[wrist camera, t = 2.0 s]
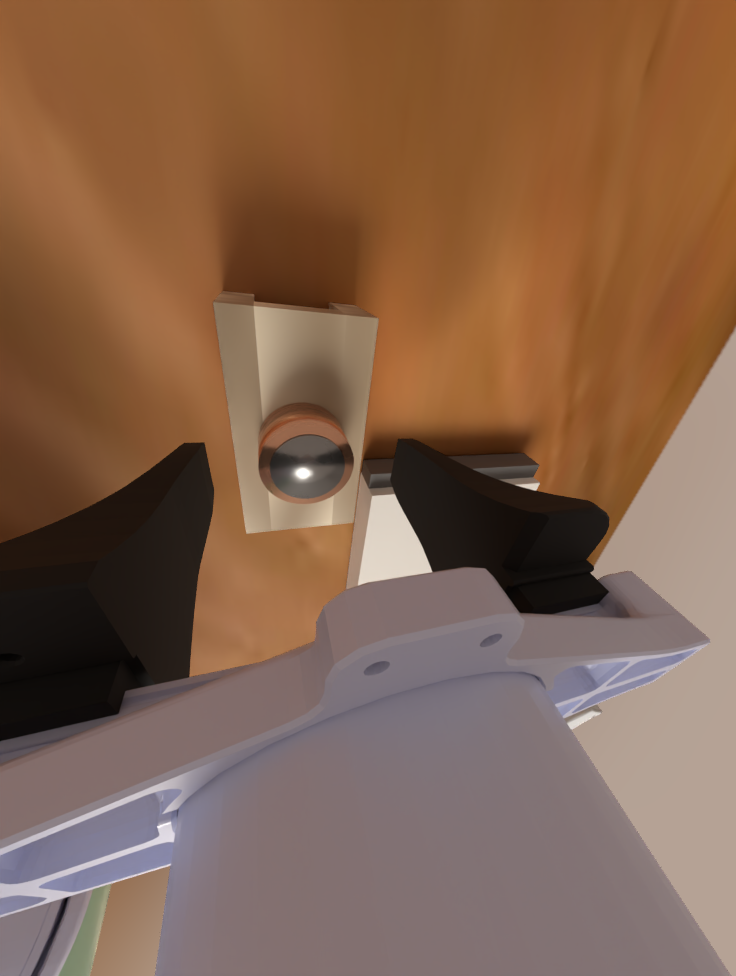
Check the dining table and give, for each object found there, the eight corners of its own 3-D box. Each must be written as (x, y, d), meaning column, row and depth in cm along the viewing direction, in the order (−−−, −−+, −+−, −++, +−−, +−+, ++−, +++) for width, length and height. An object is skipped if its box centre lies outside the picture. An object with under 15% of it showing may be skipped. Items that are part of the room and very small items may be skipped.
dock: (343, 604, 28) (350, 630, 26) (362, 458, 19) (374, 481, 17) (461, 583, 31) (474, 605, 29) (522, 451, 22) (546, 470, 21)
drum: (261, 479, 14) (262, 510, 12) (254, 401, 12) (253, 425, 10) (340, 474, 15) (350, 502, 13) (346, 402, 13) (359, 425, 11)
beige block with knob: (247, 491, 18) (246, 533, 15) (222, 290, 12) (213, 301, 10) (340, 485, 20) (353, 522, 17) (355, 305, 14) (378, 318, 11)
